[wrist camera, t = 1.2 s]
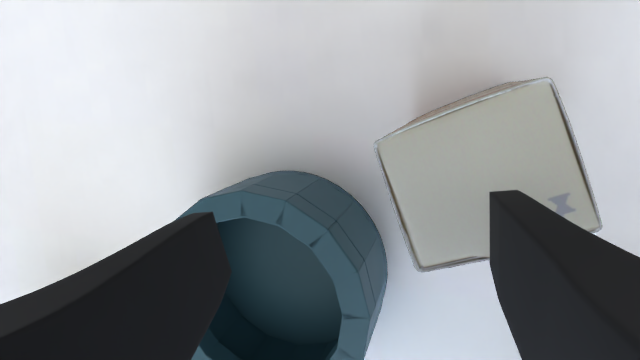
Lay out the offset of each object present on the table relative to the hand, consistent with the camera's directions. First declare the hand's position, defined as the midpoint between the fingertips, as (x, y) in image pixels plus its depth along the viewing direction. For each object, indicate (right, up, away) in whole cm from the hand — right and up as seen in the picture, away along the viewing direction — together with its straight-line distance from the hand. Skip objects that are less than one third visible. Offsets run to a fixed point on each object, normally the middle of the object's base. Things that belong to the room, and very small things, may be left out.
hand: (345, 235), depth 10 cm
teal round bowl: (-2, -4, +14) cm, 15 cm away
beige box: (+7, +4, +10) cm, 13 cm away
